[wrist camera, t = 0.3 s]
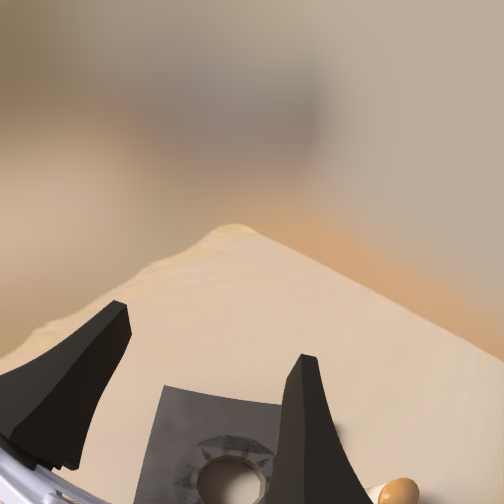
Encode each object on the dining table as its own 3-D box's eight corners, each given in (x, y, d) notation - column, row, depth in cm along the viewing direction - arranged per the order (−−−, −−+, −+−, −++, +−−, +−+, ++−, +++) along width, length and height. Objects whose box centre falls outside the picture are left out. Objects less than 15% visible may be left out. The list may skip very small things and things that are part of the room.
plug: (387, 516, 19) (419, 511, 15) (353, 521, 19) (381, 520, 15) (387, 484, 22) (418, 474, 18) (354, 489, 22) (381, 481, 18)
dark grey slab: (303, 565, 15) (312, 569, 13) (132, 542, 15) (124, 545, 13) (312, 416, 29) (320, 407, 27) (167, 395, 29) (164, 385, 27)
